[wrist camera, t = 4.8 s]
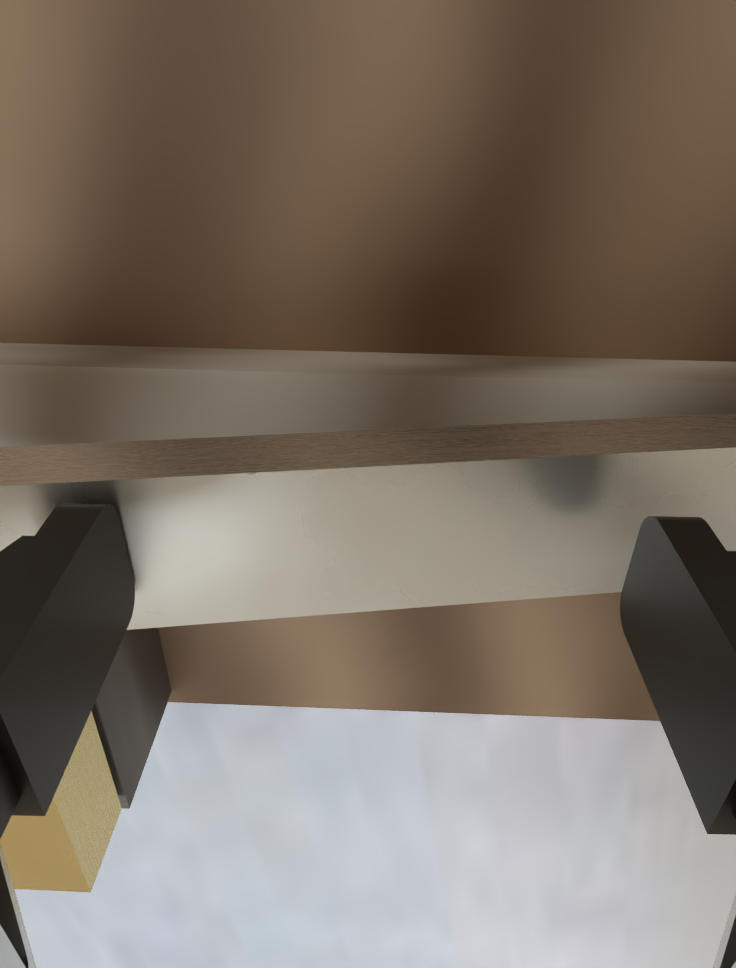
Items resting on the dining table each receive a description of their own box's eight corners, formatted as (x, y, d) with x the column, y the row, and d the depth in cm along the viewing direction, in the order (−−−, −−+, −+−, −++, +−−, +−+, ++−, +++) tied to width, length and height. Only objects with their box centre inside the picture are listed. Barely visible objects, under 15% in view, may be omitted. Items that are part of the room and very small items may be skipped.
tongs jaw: (1089, 371, 13) (1173, 402, 12) (983, 540, 15) (1045, 581, 14) (-250, 426, 10) (-318, 475, 9) (-145, 621, 12) (-189, 681, 11)
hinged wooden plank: (1449, -160, 11) (2203, -319, 6) (902, 691, 21) (1036, 858, 17) (-374, -173, 11) (-868, -322, 7) (-25, 657, 22) (-131, 808, 18)
